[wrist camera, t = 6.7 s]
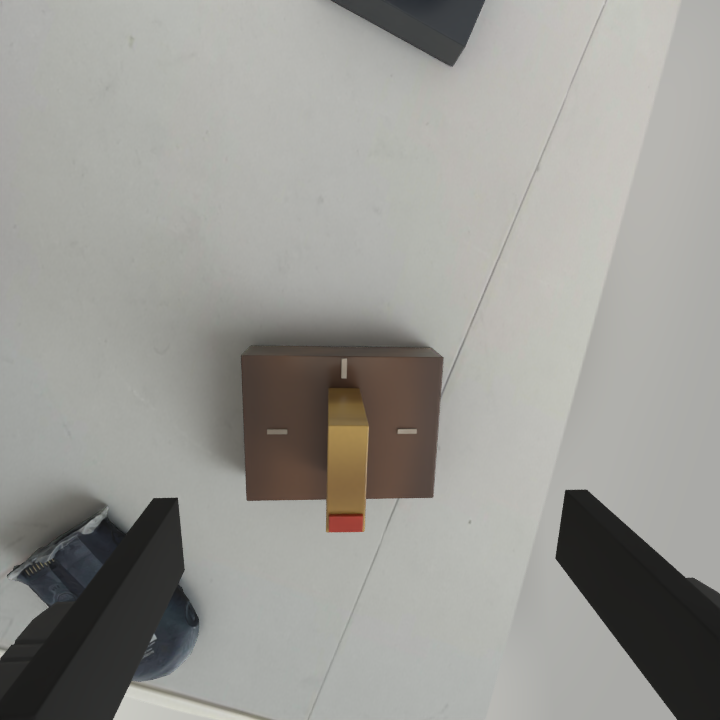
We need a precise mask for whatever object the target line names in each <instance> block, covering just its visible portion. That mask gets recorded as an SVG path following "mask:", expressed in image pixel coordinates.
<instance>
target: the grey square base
mask: <svg viewBox="0 0 720 720" xmlns="http://www.w3.org/2000/svg"><path fill="white" fill-rule="evenodd" d="M332 1H334V2H335V3H337V4H339V5H341V6H343V7H345V8H346V9H348V10H350V11H352V12H354V13H355V14H357V15H359V16H361V17H363V18H365V19H366V20H368V21H370V22H372V23H374V24H375V25H377V26H379V27H381V28H383V29H385V30H386V31H388V32H390V33H392V34H394V35H395V36H397V37H399V38H401V39H403V40H405V41H406V42H408V43H410V44H412V45H414V46H415V47H417V48H419V49H421V50H423V51H425V52H426V53H428V54H430V55H432V56H434V57H435V58H437V59H439V60H441V61H443V62H445V63H446V64H448V65H450V66H452V67H453V65H454V64H455V62H456V61H457V59H458V57H459V56H460V54H461V52H462V51H463V49H464V48H465V46H466V44H467V41H468V39H469V37H470V34H471V32H472V30H473V27H474V25H475V23H476V20H477V18H478V16H479V13H480V11H481V9H482V6H483V4H484V2H485V0H332Z"/></svg>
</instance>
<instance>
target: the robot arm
mask: <svg viewBox="0 0 720 720" xmlns="http://www.w3.org/2000/svg"><path fill="white" fill-rule="evenodd" d="M556 560H557V561H558V562H559V564H560V565H561V566H562V568H563V569H564V570H565V572H566V573H567V574H568V576H569V577H570V578H571V580H572V581H573V582H574V584H575V585H576V586H577V587H578V589H579V590H580V592H581V593H582V594H583V595H584V597H585V598H586V599H587V601H588V602H589V603H590V605H591V606H592V607H593V609H594V610H595V611H596V613H597V614H598V615H599V617H600V618H601V619H602V621H603V622H604V623H605V625H606V626H607V627H608V629H609V630H610V631H611V632H612V634H613V635H614V637H615V638H616V639H617V640H618V642H619V643H620V645H621V646H622V647H623V648H624V650H625V651H626V652H627V654H628V655H629V656H630V658H631V659H632V660H633V662H634V663H635V664H636V666H637V667H638V668H639V669H640V671H641V672H642V674H643V675H644V676H645V678H646V679H647V680H648V681H649V683H650V684H651V686H652V687H653V688H654V690H655V691H656V692H657V693H658V695H659V696H660V697H661V699H662V700H663V701H664V703H665V704H666V705H667V707H668V708H669V709H670V711H671V712H672V713H673V715H674V716H675V717H676V719H677V720H720V594H719V593H718V592H717V591H715V590H713V589H711V588H710V587H708V586H706V585H705V584H703V583H701V582H700V581H698V580H696V579H695V578H685V577H684V576H683V575H682V574H681V573H680V572H678V571H677V570H676V569H675V568H674V567H673V566H672V565H671V564H669V563H668V562H667V561H666V560H665V559H664V558H663V557H662V556H661V555H659V554H658V553H657V552H656V551H655V550H654V549H653V548H652V547H650V546H649V545H648V544H647V543H646V542H645V541H644V540H643V539H641V538H640V537H639V536H638V535H637V534H636V533H635V532H633V531H632V530H631V529H630V528H629V527H628V526H627V525H626V524H624V523H623V522H622V521H621V520H620V519H619V518H618V517H617V516H616V515H614V514H613V513H612V512H611V511H610V510H609V509H608V508H607V507H605V506H604V505H603V504H602V503H601V502H600V501H599V500H597V498H595V497H594V496H593V495H592V494H591V493H590V492H588V490H566V491H565V496H564V503H563V510H562V517H561V524H560V531H559V537H558V544H557V551H556ZM184 570H185V569H184V559H183V548H182V537H181V526H180V516H179V505H178V498H153V500H152V501H151V502H150V504H149V505H148V506H147V508H146V509H145V510H144V512H143V513H142V514H141V516H140V517H139V518H138V520H137V521H136V522H135V523H134V525H133V526H132V527H131V529H130V530H129V531H128V533H127V534H126V535H125V537H124V538H123V539H122V541H121V542H120V543H119V545H118V546H117V547H116V549H115V550H114V551H113V552H112V554H111V555H110V556H109V558H108V559H107V560H106V562H105V563H104V564H103V566H102V567H101V568H100V570H99V571H98V572H97V574H96V575H95V576H94V577H93V579H92V580H91V581H90V583H89V584H88V585H87V587H86V588H85V589H84V591H83V592H82V593H81V595H80V596H79V597H78V599H77V600H76V601H70V602H55V603H54V604H53V605H52V606H50V607H49V608H48V609H46V610H45V611H44V612H42V613H41V614H40V615H38V616H37V617H36V618H34V619H33V620H32V621H31V622H30V624H29V625H28V626H27V627H26V628H25V630H24V631H23V632H22V633H21V634H20V636H19V637H18V638H17V639H16V640H15V644H14V645H11V646H10V647H9V649H8V650H7V651H6V652H5V653H4V655H3V656H2V657H1V658H0V720H113V718H114V716H115V714H116V712H117V710H118V708H119V706H120V703H121V701H122V699H123V697H124V695H125V693H126V691H127V689H128V687H129V685H130V683H131V681H132V678H133V676H134V674H135V672H136V670H137V668H138V666H139V664H140V662H141V660H142V658H143V656H144V654H145V651H146V649H147V647H148V645H149V643H150V641H151V639H152V637H153V635H154V633H155V631H156V629H157V626H158V624H159V622H160V620H161V618H162V616H163V614H164V612H165V610H166V608H167V606H168V604H169V602H170V599H171V597H172V595H173V593H174V591H175V589H176V587H177V585H178V583H179V581H180V579H181V577H182V575H183V572H184Z"/></svg>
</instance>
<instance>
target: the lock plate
mask: <svg viewBox="0 0 720 720" xmlns="http://www.w3.org/2000/svg"><path fill="white" fill-rule="evenodd" d="M241 368H242V394H243V419H244V445H245V471H246V496H247V501H261V500H321V499H326V497H327V433H328V388H359V389H360V392H361V396H362V400H363V404H364V409H365V413H366V417H367V421H368V425H369V437H368V461H367V484H366V499H382V498H433V494H434V481H435V467H436V453H437V440H438V426H439V413H440V399H441V385H442V372H443V357H442V356H441V355H440V354H439V353H437V352H436V351H435V350H434V349H432V348H414V347H331V346H250V347H249V348H248V349H247V350H246V351H245V352H244V353H243V354H242V355H241Z"/></svg>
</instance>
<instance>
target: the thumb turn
mask: <svg viewBox="0 0 720 720" xmlns="http://www.w3.org/2000/svg"><path fill="white" fill-rule="evenodd" d="M368 437H369V425H368V421H367V417H366V413H365V409H364V404H363V400H362V396H361V392H360V389H359V388H328V433H327V497H326V532H364V531H365V508H366V484H367V461H368Z"/></svg>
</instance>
